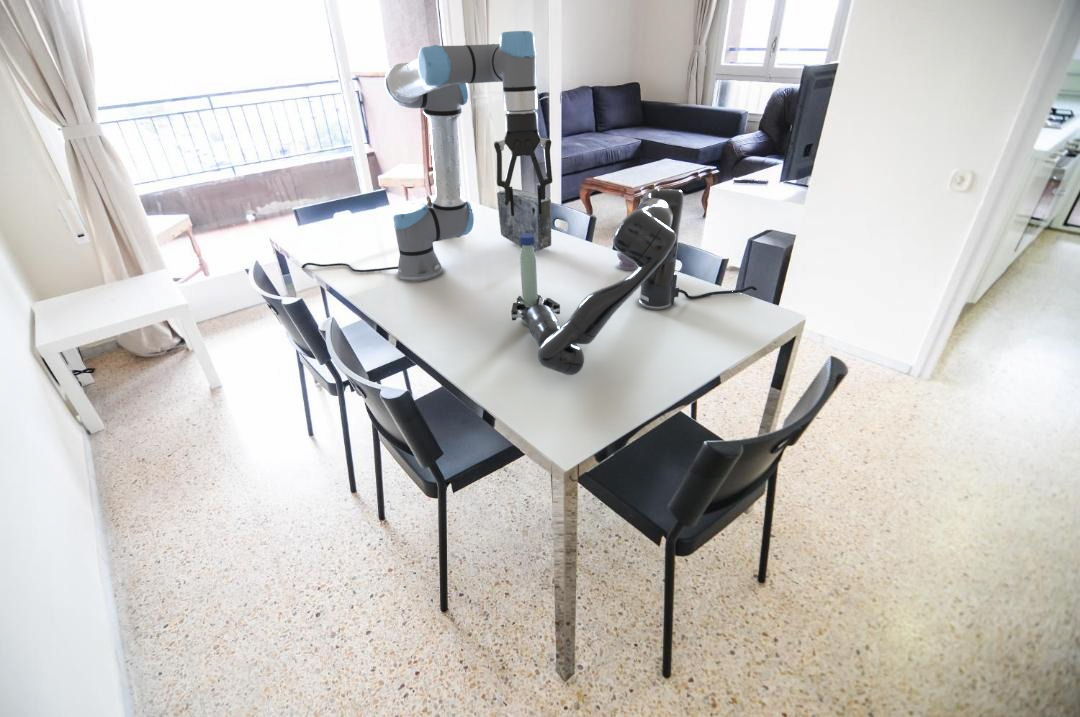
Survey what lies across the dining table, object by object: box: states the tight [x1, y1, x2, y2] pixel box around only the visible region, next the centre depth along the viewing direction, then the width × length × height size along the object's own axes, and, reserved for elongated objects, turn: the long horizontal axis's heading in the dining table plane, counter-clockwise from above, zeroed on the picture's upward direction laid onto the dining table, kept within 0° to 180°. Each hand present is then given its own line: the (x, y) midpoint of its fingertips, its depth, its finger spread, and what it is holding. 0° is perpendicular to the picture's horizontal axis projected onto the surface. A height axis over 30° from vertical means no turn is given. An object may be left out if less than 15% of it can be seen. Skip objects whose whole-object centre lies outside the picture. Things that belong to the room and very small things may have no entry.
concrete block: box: [496, 188, 552, 251], centre depth 192 cm, size 27×9×20 cm, turn 36°
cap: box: [519, 233, 535, 246], centre depth 129 cm, size 4×4×2 cm
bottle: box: [519, 245, 538, 325], centre depth 135 cm, size 4×4×25 cm
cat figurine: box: [616, 250, 638, 271], centre depth 171 cm, size 9×8×12 cm
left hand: (526, 213), depth 125 cm, fingers open, 6 cm apart
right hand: (527, 298), depth 141 cm, fingers closed on bottle, 4 cm apart
